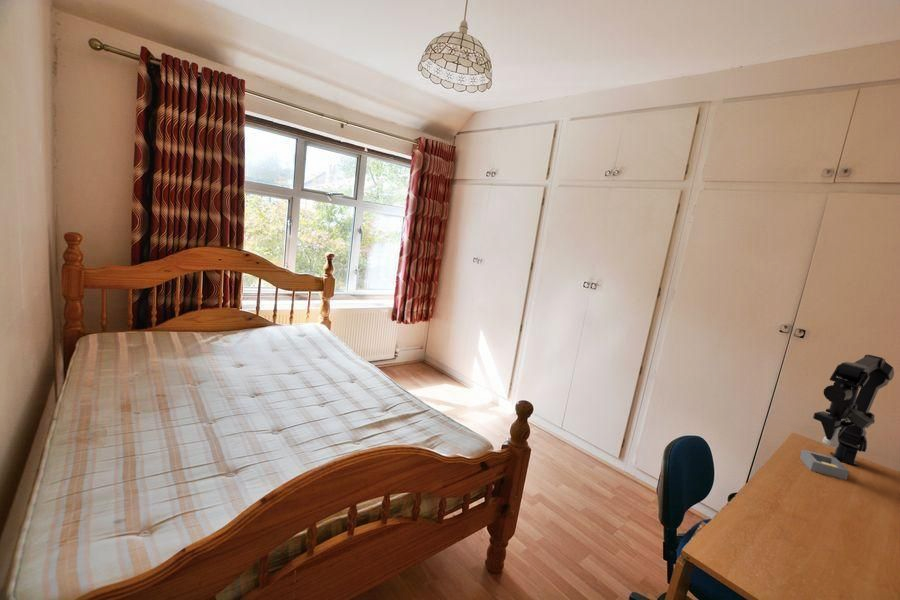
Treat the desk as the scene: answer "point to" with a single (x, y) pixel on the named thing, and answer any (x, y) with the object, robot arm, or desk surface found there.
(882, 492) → the desk surface
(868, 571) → the desk surface
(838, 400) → the robot arm
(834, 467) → the grey square tray
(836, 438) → the rook chess piece
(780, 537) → the desk surface
